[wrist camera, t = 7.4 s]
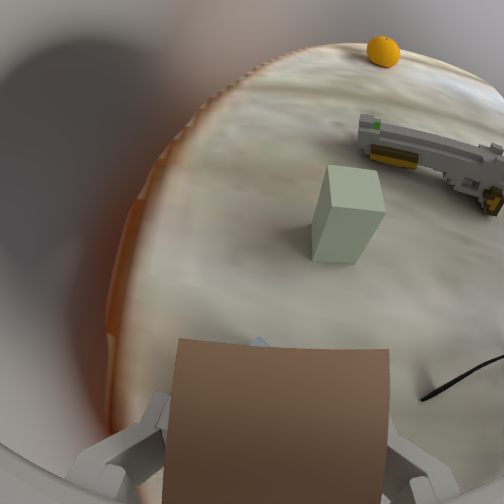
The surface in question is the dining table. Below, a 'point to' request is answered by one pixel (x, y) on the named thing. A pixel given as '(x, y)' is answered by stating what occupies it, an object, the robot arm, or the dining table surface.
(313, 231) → the sage block
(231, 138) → the dining table surface
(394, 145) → the toy
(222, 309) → the dining table surface
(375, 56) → the orange
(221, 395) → the walnut block
